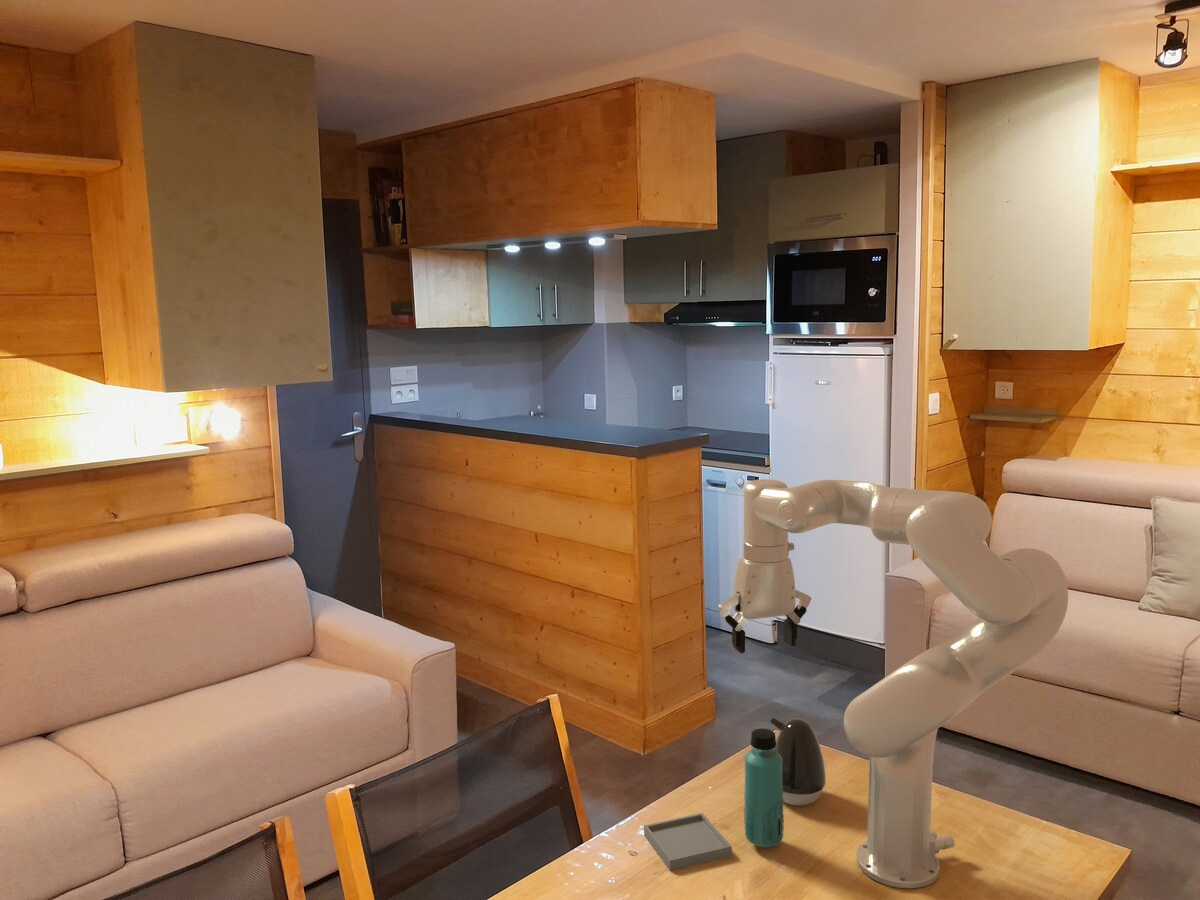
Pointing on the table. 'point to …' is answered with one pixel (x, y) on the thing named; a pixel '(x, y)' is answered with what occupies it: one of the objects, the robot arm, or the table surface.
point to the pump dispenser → (800, 762)
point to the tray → (687, 841)
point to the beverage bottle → (763, 791)
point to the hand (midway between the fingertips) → (764, 647)
